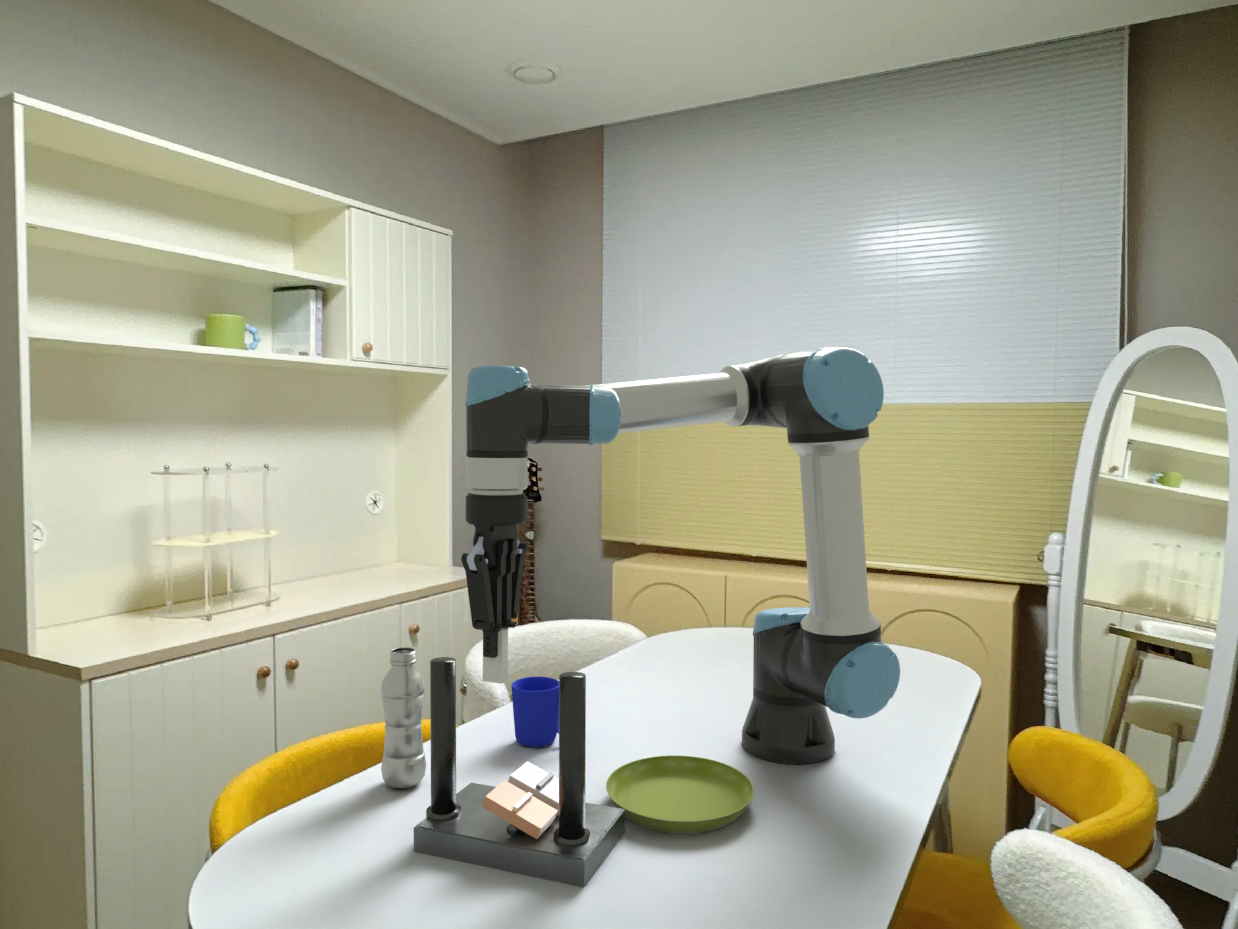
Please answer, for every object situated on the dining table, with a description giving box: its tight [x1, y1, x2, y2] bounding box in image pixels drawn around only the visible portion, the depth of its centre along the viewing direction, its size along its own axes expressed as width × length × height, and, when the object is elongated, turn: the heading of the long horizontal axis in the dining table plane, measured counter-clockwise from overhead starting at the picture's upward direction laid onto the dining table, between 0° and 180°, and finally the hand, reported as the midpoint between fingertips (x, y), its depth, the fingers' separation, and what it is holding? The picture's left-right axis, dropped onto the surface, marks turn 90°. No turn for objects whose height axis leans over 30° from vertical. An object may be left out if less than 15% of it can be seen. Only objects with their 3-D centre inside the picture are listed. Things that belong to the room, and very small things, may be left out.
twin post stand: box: [413, 656, 626, 888], centre depth 105 cm, size 24×14×23 cm, turn 70°
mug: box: [510, 676, 559, 749], centre depth 138 cm, size 8×12×10 cm
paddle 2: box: [482, 779, 558, 839], centre depth 103 cm, size 8×5×2 cm, turn 70°
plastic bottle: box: [380, 646, 427, 789], centre depth 122 cm, size 6×7×20 cm
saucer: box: [605, 754, 755, 835], centre depth 116 cm, size 21×21×3 cm
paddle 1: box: [507, 760, 559, 815], centre depth 109 cm, size 8×5×2 cm, turn 70°
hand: (495, 680), depth 103 cm, fingers closed
